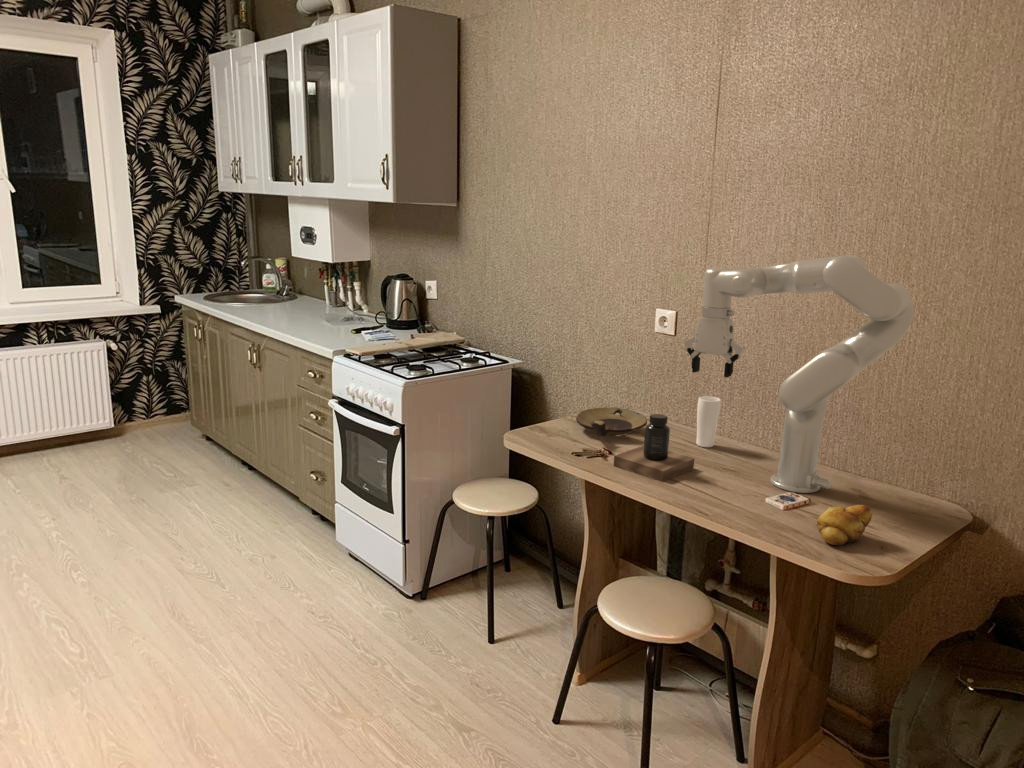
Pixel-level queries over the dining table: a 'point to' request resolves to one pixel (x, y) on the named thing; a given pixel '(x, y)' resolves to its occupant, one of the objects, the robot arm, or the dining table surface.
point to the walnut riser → (653, 464)
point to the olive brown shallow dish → (611, 421)
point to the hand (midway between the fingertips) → (711, 374)
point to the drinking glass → (707, 420)
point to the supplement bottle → (656, 438)
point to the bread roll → (843, 523)
